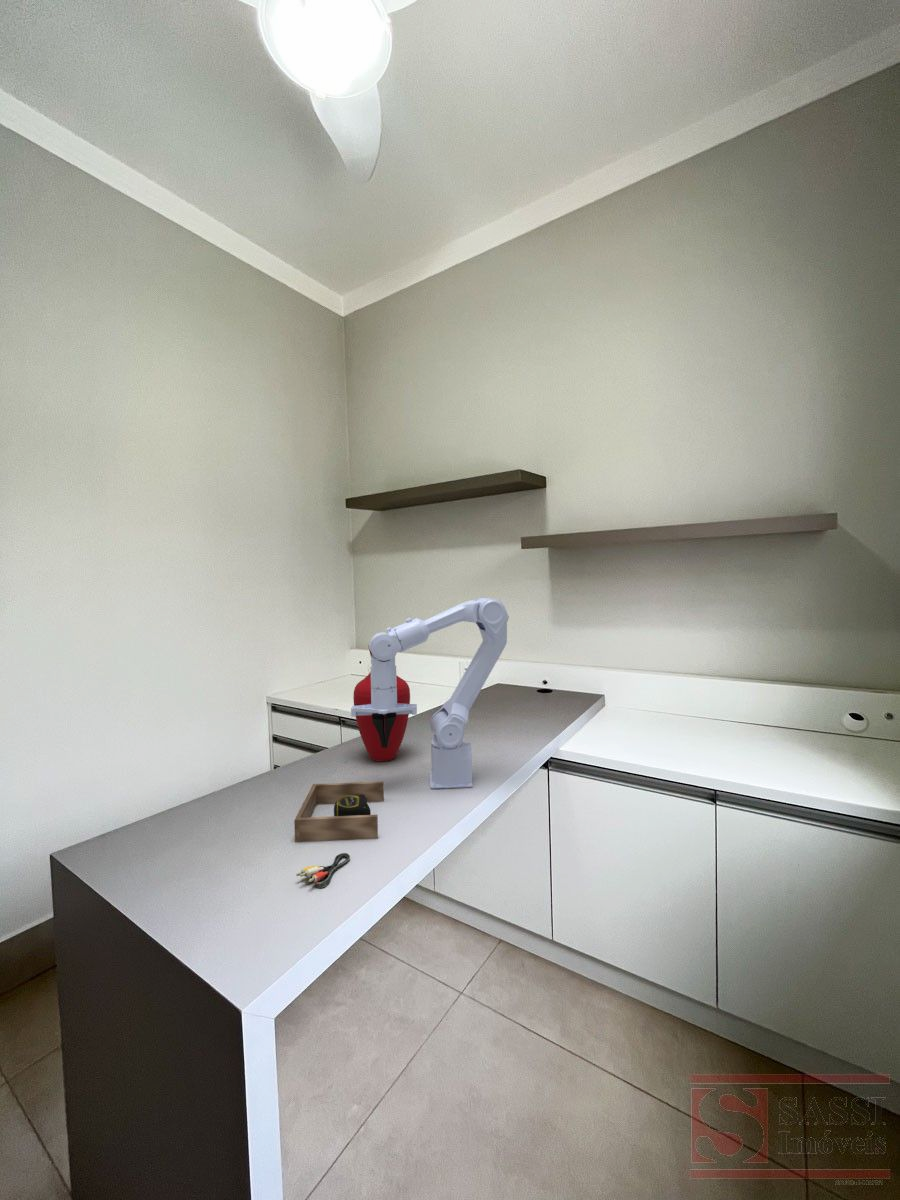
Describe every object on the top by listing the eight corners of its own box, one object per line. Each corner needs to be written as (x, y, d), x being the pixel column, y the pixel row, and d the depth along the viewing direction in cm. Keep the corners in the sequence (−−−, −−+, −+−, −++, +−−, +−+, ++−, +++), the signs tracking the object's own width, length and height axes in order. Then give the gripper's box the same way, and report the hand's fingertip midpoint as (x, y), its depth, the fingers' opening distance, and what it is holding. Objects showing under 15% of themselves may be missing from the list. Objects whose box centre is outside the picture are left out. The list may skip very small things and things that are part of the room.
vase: (422, 757, 131) (420, 643, 129) (376, 772, 121) (373, 650, 119) (389, 743, 142) (387, 639, 140) (344, 757, 131) (341, 644, 130)
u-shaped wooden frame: (383, 799, 106) (383, 781, 106) (377, 838, 91) (377, 816, 90) (313, 802, 105) (313, 784, 105) (295, 841, 90) (294, 820, 89)
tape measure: (371, 825, 96) (371, 806, 95) (334, 830, 94) (334, 811, 94) (367, 809, 102) (367, 791, 102) (333, 814, 100) (332, 795, 100)
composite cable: (343, 856, 85) (343, 842, 85) (362, 865, 82) (362, 851, 82) (294, 885, 78) (293, 869, 77) (313, 896, 75) (313, 880, 75)
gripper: (348, 691, 107) (350, 753, 107) (416, 689, 108) (417, 751, 108) (352, 684, 114) (354, 742, 114) (416, 682, 115) (417, 740, 115)
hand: (385, 746), depth 112 cm, fingers closed
